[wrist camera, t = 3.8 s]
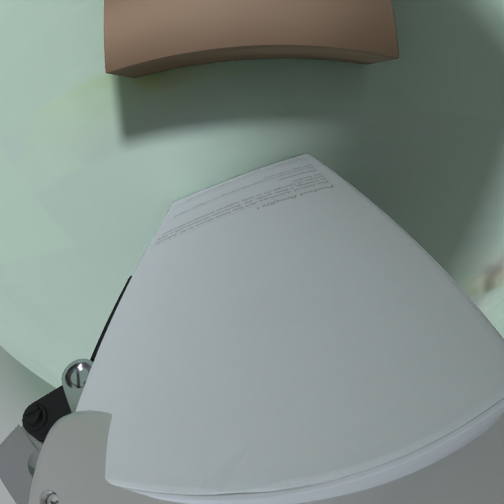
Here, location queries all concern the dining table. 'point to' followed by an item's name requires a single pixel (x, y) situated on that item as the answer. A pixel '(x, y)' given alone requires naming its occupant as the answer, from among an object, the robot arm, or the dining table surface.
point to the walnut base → (243, 32)
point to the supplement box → (288, 349)
